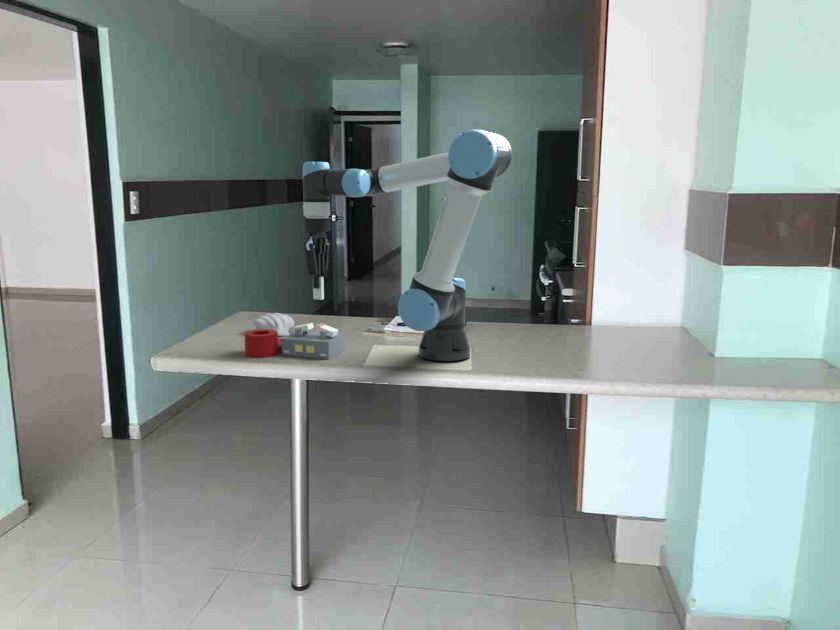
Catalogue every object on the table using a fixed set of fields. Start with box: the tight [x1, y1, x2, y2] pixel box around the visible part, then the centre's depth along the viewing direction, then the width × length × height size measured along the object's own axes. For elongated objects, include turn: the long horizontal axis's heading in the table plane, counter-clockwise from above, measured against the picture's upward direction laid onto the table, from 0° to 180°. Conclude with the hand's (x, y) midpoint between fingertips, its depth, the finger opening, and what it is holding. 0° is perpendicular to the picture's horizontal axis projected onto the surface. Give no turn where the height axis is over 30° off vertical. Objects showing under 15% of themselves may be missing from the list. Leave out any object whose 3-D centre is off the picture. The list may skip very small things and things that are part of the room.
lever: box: [243, 329, 282, 359], centre depth 201 cm, size 18×9×7 cm, turn 159°
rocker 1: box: [289, 322, 315, 334], centre depth 200 cm, size 6×4×2 cm, turn 72°
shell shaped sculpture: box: [254, 312, 295, 337], centre depth 224 cm, size 13×13×6 cm
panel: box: [280, 329, 347, 360], centre depth 199 cm, size 15×12×7 cm
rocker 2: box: [313, 322, 339, 337], centre depth 198 cm, size 6×4×2 cm, turn 72°
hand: (318, 298), depth 197 cm, fingers closed
